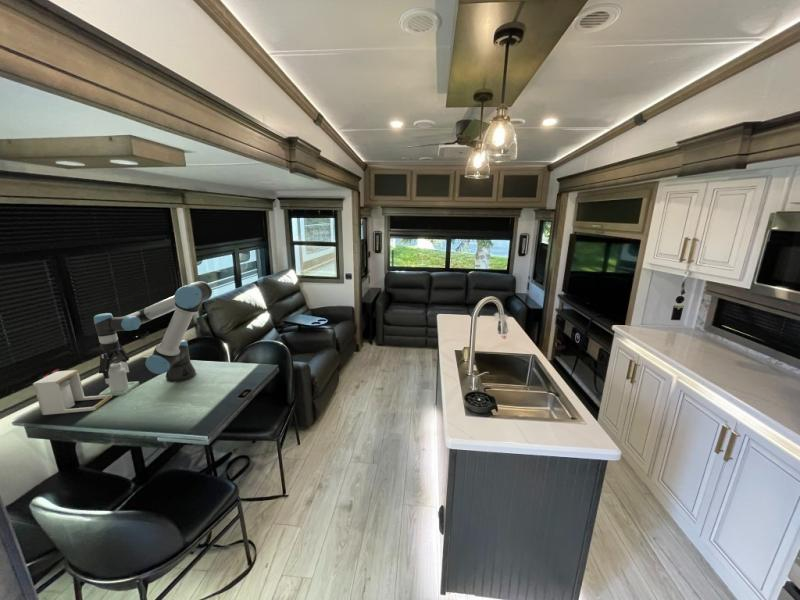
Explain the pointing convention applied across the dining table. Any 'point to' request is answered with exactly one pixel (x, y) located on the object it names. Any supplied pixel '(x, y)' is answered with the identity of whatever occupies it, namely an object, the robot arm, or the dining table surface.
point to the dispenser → (63, 393)
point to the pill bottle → (118, 378)
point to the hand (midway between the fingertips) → (118, 377)
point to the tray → (131, 386)
